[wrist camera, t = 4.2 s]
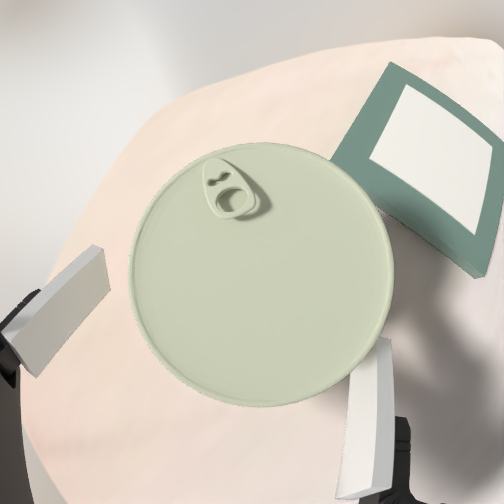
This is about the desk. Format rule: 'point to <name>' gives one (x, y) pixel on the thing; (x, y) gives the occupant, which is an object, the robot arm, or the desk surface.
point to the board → (428, 166)
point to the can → (261, 274)
